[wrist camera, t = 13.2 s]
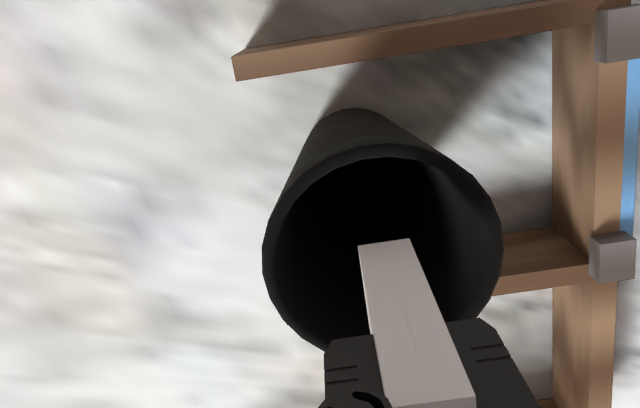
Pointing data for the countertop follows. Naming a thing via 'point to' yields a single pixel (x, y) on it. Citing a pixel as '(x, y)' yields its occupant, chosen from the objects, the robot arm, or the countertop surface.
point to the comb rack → (568, 161)
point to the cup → (375, 226)
